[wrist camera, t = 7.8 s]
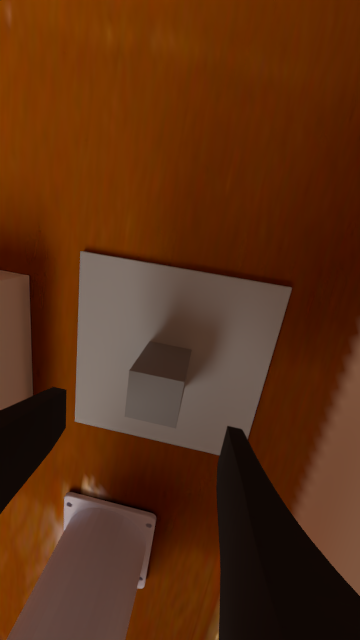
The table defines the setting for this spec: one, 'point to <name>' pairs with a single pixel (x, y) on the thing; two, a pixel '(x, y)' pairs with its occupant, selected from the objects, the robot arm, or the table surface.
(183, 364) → the lid
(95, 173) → the table surface
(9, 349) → the box
